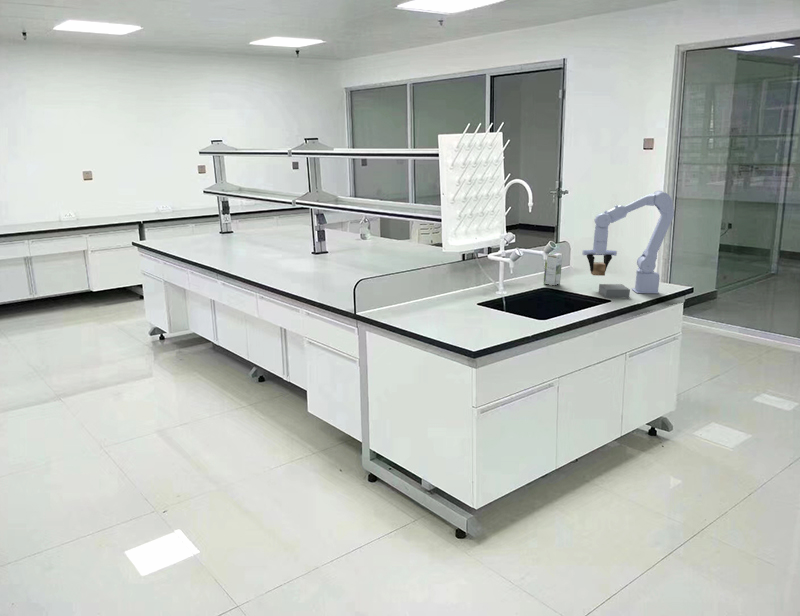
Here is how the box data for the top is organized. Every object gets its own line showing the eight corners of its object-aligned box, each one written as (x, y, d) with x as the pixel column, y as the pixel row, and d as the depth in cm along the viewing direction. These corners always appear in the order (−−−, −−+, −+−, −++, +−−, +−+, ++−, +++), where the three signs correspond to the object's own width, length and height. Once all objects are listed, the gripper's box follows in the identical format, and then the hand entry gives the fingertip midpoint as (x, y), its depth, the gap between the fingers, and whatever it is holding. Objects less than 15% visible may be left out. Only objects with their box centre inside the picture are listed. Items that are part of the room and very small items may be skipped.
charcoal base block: (620, 293, 284) (621, 284, 283) (629, 298, 275) (630, 289, 274) (598, 292, 284) (599, 284, 283) (605, 298, 275) (606, 289, 274)
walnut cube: (601, 273, 290) (602, 262, 288) (604, 275, 285) (605, 264, 283) (590, 273, 290) (591, 262, 288) (593, 275, 285) (594, 264, 284)
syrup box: (548, 282, 302) (551, 251, 299) (560, 284, 299) (562, 253, 295) (543, 284, 298) (545, 253, 294) (554, 286, 294) (557, 255, 291)
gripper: (614, 239, 287) (611, 269, 291) (581, 239, 287) (579, 269, 291) (619, 242, 280) (616, 272, 284) (585, 241, 281) (583, 272, 284)
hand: (597, 271), depth 287 cm, fingers closed on walnut cube, 5 cm apart
